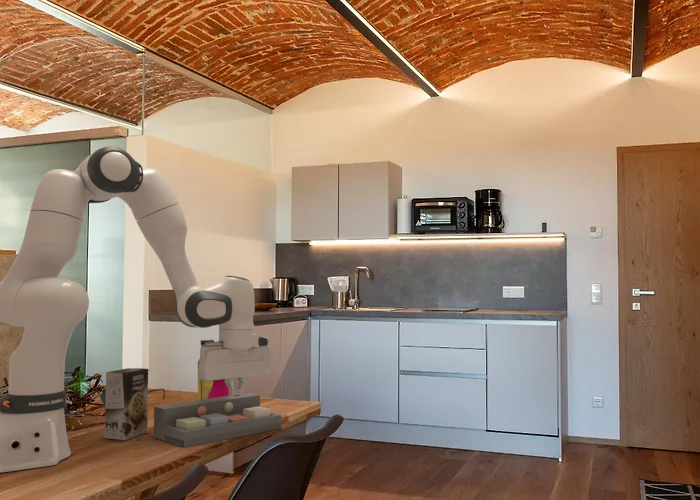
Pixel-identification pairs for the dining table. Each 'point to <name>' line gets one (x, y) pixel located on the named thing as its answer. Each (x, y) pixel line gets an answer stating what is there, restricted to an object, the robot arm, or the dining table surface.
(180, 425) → the key sage
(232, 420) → the key terracotta
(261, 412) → the key cream
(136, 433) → the cookie box
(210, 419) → the key slate
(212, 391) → the pepper mill
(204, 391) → the sauce bottle
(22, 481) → the dining table surface
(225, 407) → the keypad
